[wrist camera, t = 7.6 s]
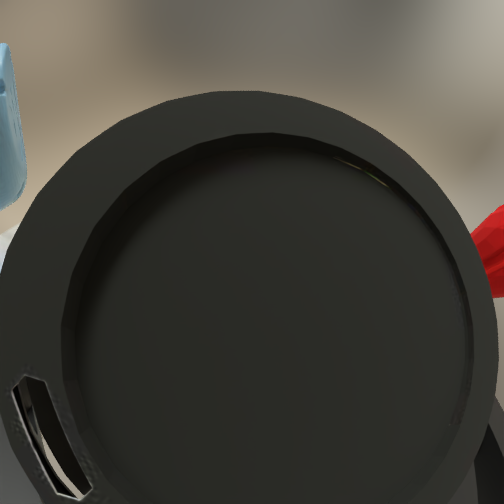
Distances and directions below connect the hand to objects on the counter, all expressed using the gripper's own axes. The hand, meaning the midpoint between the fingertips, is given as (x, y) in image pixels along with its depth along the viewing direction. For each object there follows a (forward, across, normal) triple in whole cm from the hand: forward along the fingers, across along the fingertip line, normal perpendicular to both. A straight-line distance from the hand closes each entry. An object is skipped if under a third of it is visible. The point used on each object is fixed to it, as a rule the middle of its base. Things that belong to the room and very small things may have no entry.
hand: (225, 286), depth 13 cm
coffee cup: (+2, 0, -6) cm, 7 cm away
